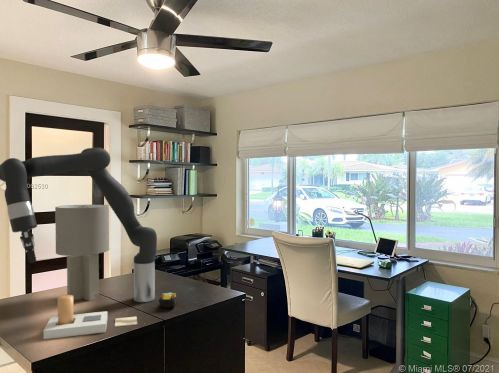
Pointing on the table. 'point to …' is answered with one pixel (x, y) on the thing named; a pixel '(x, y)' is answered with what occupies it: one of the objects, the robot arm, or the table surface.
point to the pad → (125, 321)
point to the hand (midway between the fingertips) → (33, 262)
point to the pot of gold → (168, 300)
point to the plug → (65, 310)
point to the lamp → (82, 245)
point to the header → (77, 325)
